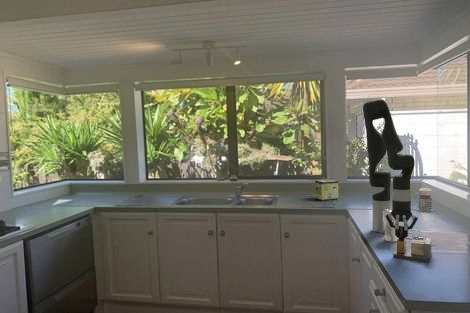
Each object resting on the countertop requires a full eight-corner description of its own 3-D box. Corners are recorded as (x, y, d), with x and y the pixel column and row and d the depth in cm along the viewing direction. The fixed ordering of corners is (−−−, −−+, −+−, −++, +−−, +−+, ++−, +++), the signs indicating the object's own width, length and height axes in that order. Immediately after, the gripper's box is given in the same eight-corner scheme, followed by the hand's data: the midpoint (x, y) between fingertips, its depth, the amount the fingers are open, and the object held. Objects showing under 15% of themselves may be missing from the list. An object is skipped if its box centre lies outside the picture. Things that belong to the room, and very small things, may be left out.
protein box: (315, 199, 298) (314, 180, 297) (331, 197, 303) (331, 179, 302) (321, 201, 288) (321, 182, 287) (338, 199, 293) (338, 180, 292)
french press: (435, 211, 241) (435, 174, 239) (416, 211, 243) (416, 174, 242) (430, 208, 251) (430, 172, 249) (412, 208, 253) (412, 172, 251)
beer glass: (381, 240, 182) (381, 211, 181) (384, 237, 188) (384, 208, 187) (396, 242, 178) (396, 212, 177) (399, 239, 184) (399, 209, 183)
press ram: (399, 247, 166) (398, 223, 165) (406, 248, 164) (406, 224, 163) (396, 252, 160) (396, 227, 159) (404, 253, 158) (404, 228, 157)
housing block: (412, 250, 162) (412, 239, 162) (425, 252, 159) (425, 240, 159) (411, 253, 158) (411, 242, 157) (424, 255, 155) (424, 244, 155)
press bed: (397, 249, 168) (397, 233, 168) (431, 253, 161) (431, 237, 161) (393, 257, 158) (393, 240, 158) (429, 262, 151) (429, 244, 150)
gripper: (383, 199, 161) (383, 237, 162) (418, 201, 154) (418, 241, 155) (385, 196, 167) (386, 233, 168) (419, 198, 160) (419, 237, 161)
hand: (401, 237), depth 162 cm, fingers closed on press ram, 2 cm apart
